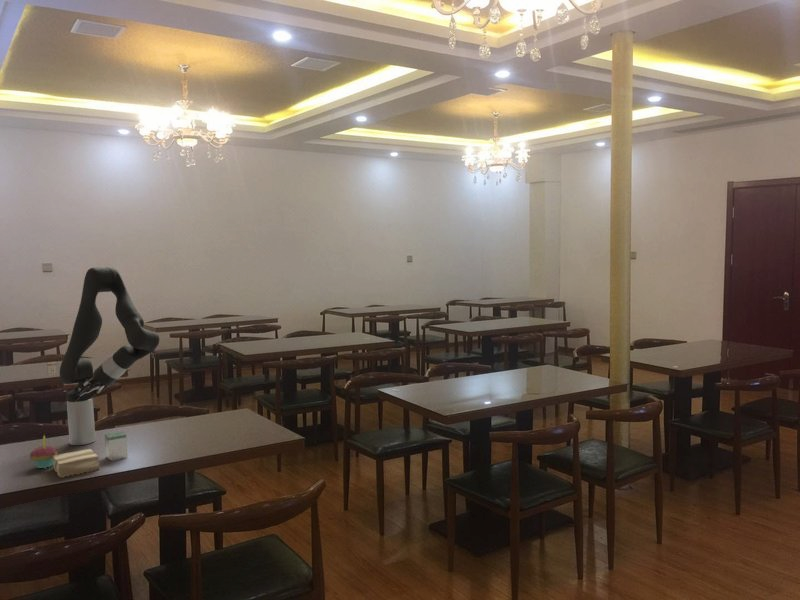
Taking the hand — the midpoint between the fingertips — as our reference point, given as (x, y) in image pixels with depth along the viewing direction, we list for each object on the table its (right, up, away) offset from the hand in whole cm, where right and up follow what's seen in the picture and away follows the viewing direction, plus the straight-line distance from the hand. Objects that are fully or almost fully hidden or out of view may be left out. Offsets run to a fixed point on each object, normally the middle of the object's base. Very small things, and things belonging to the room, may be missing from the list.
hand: (79, 398), depth 230 cm
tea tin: (+11, -22, +5) cm, 25 cm away
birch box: (+2, -24, -7) cm, 25 cm away
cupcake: (-11, -23, -4) cm, 26 cm away
